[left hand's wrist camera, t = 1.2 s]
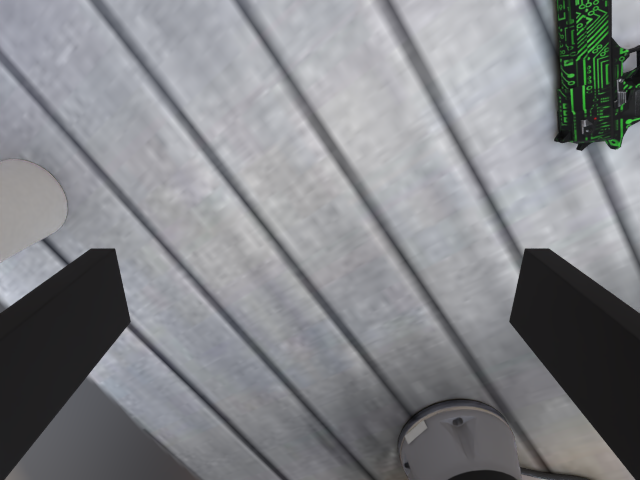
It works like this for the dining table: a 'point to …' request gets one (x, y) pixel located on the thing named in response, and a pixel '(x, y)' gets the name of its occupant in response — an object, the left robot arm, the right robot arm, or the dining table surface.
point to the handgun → (594, 77)
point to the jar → (28, 206)
